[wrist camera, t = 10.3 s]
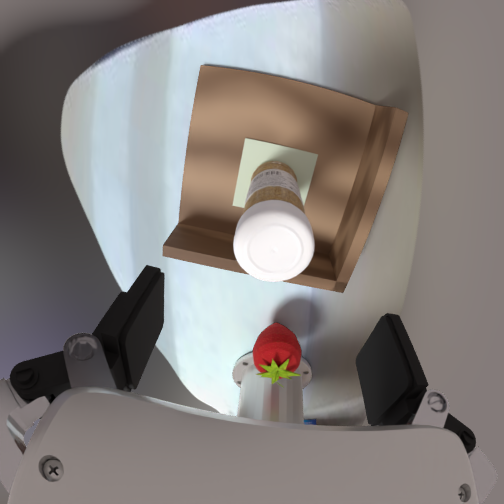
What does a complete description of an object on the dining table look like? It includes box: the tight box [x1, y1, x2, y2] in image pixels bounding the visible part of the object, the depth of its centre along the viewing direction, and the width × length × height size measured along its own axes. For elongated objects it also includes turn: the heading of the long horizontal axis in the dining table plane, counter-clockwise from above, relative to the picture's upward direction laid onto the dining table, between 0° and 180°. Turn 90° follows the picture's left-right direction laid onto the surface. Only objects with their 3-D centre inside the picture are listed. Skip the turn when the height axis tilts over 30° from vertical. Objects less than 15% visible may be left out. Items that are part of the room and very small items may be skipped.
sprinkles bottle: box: [233, 161, 315, 282], centre depth 21 cm, size 5×4×14 cm
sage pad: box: [232, 138, 318, 208], centre depth 27 cm, size 7×7×1 cm
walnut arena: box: [163, 65, 408, 293], centre depth 25 cm, size 18×18×6 cm
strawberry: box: [253, 323, 301, 387], centre depth 33 cm, size 6×8×10 cm
